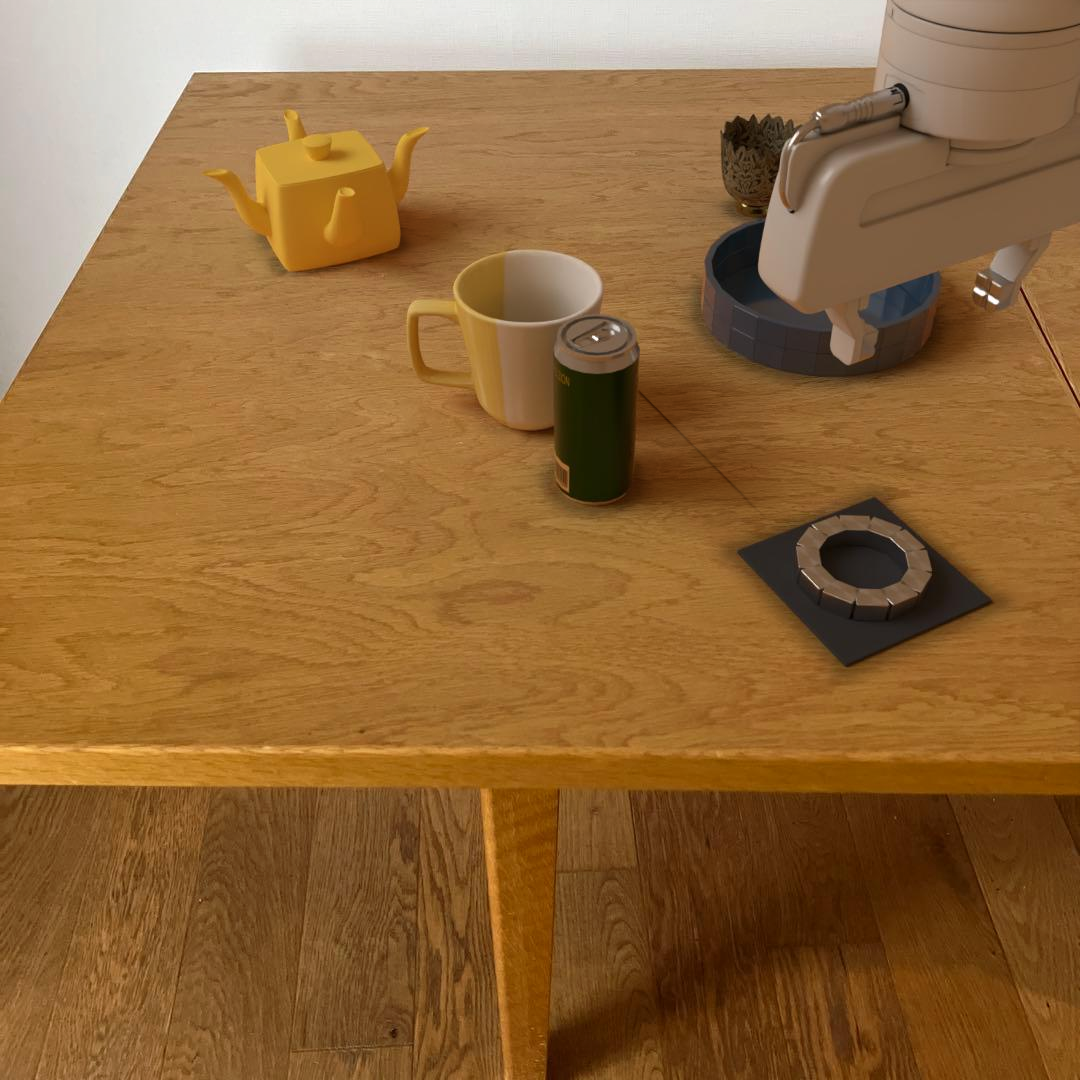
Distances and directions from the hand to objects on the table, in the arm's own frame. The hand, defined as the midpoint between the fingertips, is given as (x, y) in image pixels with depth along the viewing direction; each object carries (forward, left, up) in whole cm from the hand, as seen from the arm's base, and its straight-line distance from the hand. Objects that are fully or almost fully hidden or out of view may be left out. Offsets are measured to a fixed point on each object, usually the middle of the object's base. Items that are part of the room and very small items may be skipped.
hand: (923, 330), depth 63 cm
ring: (+1, 0, -17) cm, 17 cm away
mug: (+12, -27, -18) cm, 34 cm away
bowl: (-15, -26, -18) cm, 35 cm away
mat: (+1, 0, -18) cm, 18 cm away
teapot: (+15, -57, -18) cm, 61 cm away
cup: (-21, -43, -18) cm, 51 cm away
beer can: (+11, -16, -18) cm, 26 cm away
